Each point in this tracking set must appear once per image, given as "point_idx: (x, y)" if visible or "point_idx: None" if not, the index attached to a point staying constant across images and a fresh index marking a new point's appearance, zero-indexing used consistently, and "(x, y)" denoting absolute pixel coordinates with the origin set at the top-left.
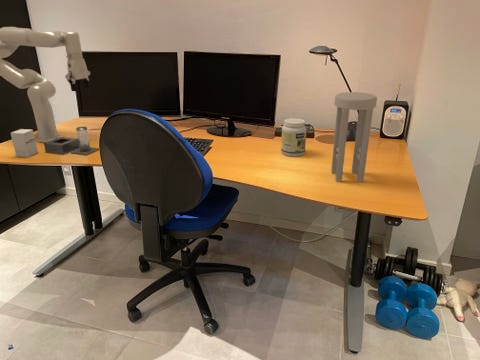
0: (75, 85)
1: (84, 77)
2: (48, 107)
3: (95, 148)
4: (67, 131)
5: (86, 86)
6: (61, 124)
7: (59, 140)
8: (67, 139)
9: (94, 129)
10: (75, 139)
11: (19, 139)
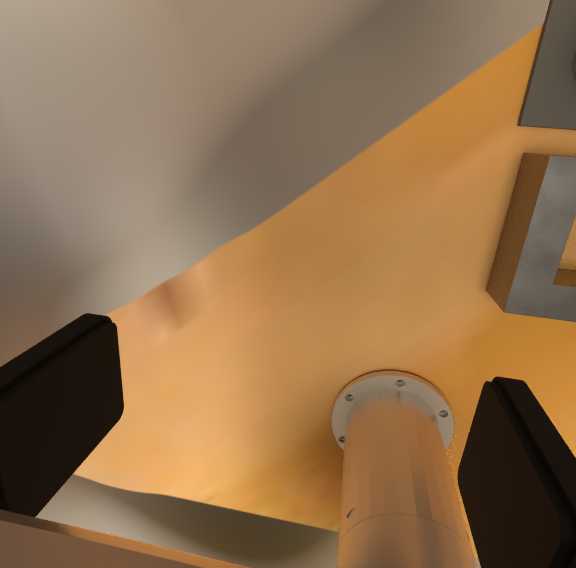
0: (572, 481)
1: (25, 539)
2: (426, 563)
3: (564, 4)
4: (243, 410)
5: (101, 379)
6: (155, 493)
7: (568, 284)
8: (568, 231)
9: (166, 297)
10: (570, 169)
11: None
